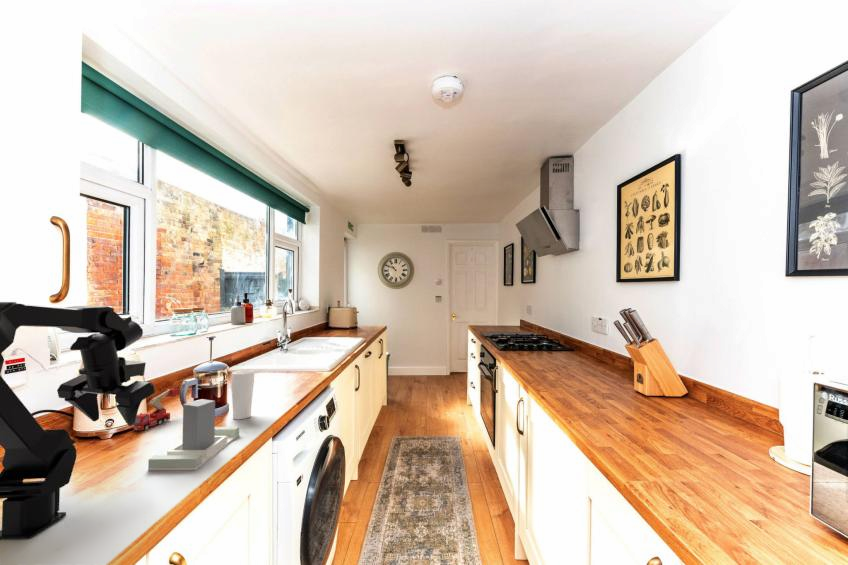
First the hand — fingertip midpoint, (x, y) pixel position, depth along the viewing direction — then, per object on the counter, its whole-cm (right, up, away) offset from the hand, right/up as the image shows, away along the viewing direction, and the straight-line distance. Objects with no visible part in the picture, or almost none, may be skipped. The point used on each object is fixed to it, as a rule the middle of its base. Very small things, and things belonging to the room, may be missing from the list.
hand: (113, 422), depth 82 cm
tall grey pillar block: (+13, -11, +11) cm, 20 cm away
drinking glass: (+11, -12, +36) cm, 39 cm away
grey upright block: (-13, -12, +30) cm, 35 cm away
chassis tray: (+13, -12, +11) cm, 20 cm away
